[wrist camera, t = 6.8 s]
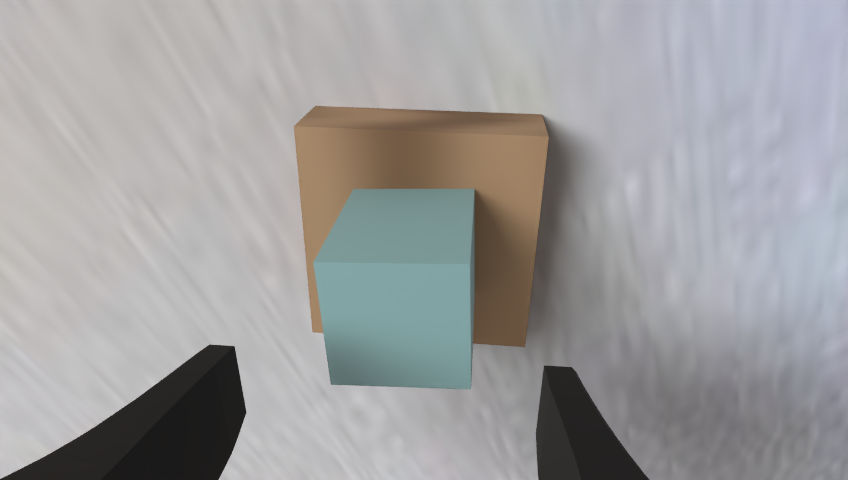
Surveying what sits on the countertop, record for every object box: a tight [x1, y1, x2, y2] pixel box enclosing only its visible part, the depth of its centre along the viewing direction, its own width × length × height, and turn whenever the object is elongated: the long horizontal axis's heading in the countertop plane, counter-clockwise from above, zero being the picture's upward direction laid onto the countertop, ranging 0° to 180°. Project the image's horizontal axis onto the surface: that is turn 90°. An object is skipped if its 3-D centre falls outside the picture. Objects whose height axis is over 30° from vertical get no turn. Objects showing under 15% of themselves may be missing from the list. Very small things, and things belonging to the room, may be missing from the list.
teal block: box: [313, 189, 475, 389], centre depth 18 cm, size 4×4×5 cm
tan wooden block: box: [294, 106, 549, 347], centre depth 21 cm, size 8×8×3 cm
